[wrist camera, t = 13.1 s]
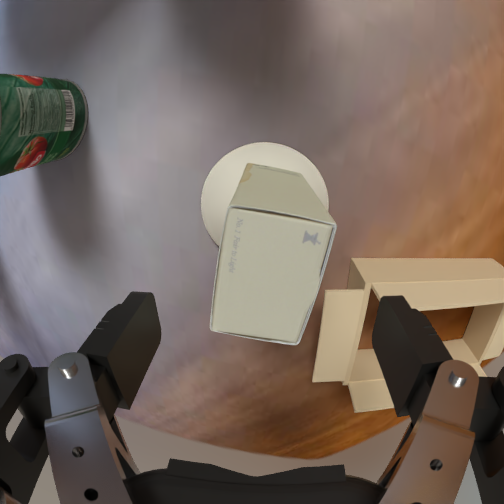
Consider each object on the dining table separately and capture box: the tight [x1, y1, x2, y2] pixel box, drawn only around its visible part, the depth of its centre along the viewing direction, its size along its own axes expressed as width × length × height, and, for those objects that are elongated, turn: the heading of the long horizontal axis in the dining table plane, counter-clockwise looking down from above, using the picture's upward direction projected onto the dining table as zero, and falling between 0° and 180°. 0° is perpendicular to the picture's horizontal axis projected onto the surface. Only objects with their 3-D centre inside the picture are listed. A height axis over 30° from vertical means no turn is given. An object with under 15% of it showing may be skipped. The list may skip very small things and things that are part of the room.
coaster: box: [201, 142, 329, 247], centre depth 24 cm, size 10×10×1 cm
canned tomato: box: [0, 74, 88, 176], centre depth 16 cm, size 8×8×11 cm
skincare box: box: [210, 163, 337, 345], centre depth 18 cm, size 6×4×12 cm
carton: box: [312, 258, 504, 413], centre depth 23 cm, size 23×11×8 cm, turn 91°
